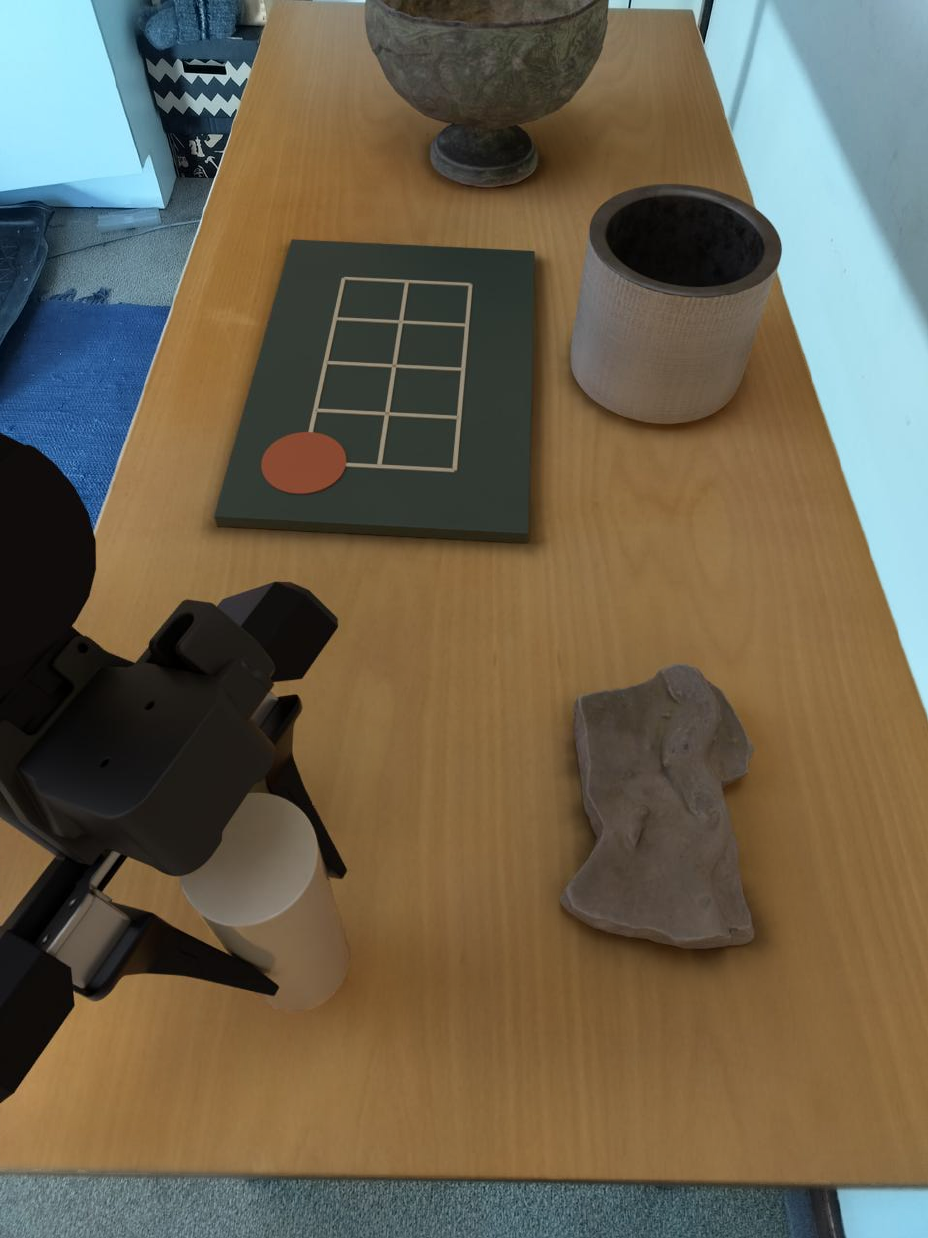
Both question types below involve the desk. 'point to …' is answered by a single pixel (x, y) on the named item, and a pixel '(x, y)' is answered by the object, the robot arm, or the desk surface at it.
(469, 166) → the bowl
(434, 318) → the board
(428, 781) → the desk surface
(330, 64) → the desk surface
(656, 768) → the stone
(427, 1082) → the desk surface
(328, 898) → the white upright cylinder
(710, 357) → the planter
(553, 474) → the desk surface
